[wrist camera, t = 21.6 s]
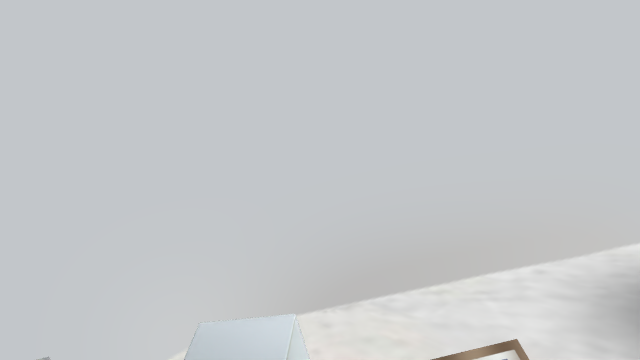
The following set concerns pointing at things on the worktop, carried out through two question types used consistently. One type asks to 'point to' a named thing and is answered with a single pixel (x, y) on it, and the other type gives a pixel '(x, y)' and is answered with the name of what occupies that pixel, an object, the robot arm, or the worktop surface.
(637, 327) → the worktop surface
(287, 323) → the supplement box
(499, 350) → the stamping board
